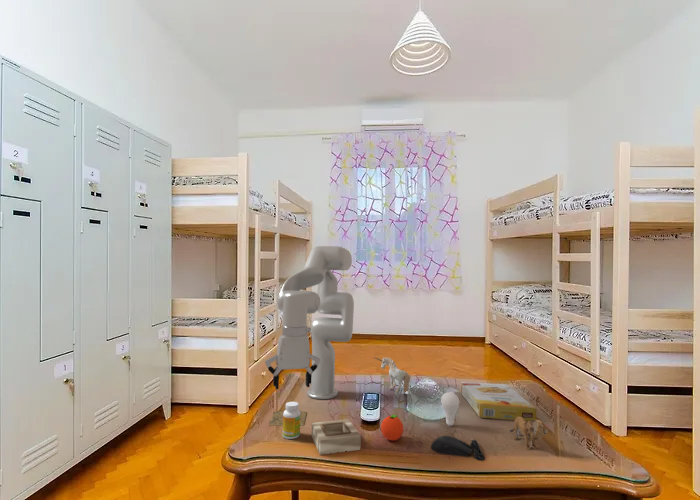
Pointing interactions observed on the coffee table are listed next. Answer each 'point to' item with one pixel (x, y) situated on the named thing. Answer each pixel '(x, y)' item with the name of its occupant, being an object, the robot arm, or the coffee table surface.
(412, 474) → the coffee table surface
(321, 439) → the socket block
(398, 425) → the clementine
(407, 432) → the coffee table surface
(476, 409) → the cereal box
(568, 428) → the coffee table surface
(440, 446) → the black computer mouse
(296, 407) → the supplement bottle
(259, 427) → the coffee table surface
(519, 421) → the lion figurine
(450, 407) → the lightbulb
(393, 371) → the unicorn figurine
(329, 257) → the robot arm
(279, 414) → the cookie
